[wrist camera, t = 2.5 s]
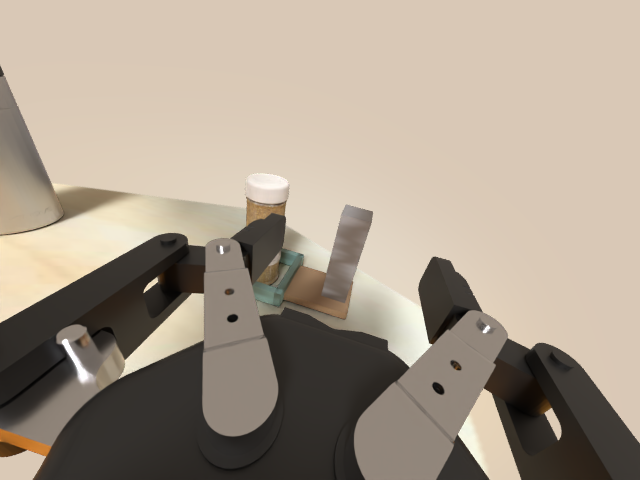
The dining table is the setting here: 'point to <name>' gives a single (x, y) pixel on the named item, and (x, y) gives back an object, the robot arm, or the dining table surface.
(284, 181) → the sprinkles bottle
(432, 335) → the robot arm
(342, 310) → the stand
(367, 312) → the dining table surface
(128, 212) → the dining table surface
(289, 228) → the dining table surface
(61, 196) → the dining table surface
